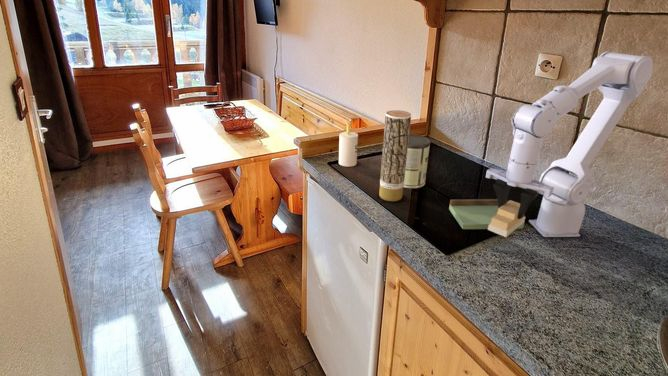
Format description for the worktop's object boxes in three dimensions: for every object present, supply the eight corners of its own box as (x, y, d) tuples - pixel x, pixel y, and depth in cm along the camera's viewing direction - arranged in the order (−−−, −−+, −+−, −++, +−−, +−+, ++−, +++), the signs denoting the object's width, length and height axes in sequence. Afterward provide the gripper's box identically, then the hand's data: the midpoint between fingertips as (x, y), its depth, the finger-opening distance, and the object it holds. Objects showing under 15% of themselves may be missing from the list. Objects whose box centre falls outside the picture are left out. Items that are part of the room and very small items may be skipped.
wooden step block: (506, 215, 101) (510, 198, 99) (524, 222, 98) (528, 205, 96) (487, 229, 94) (491, 212, 92) (505, 237, 91) (510, 219, 89)
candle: (351, 168, 138) (353, 125, 132) (335, 164, 141) (336, 122, 135) (360, 162, 143) (362, 121, 137) (344, 158, 146) (345, 118, 140)
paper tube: (403, 202, 115) (413, 117, 105) (379, 202, 115) (387, 116, 105) (400, 192, 122) (409, 110, 111) (377, 191, 122) (384, 110, 111)
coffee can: (392, 174, 134) (395, 133, 128) (423, 176, 133) (428, 135, 127) (393, 187, 125) (397, 144, 119) (426, 189, 124) (432, 146, 118)
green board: (504, 208, 114) (506, 199, 113) (523, 228, 104) (525, 218, 103) (448, 209, 113) (450, 199, 111) (462, 229, 103) (464, 219, 102)
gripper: (484, 155, 92) (473, 208, 98) (550, 174, 82) (535, 231, 88) (498, 148, 96) (487, 199, 102) (562, 165, 87) (547, 220, 93)
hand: (510, 213), depth 95 cm, fingers closed on wooden step block, 4 cm apart
